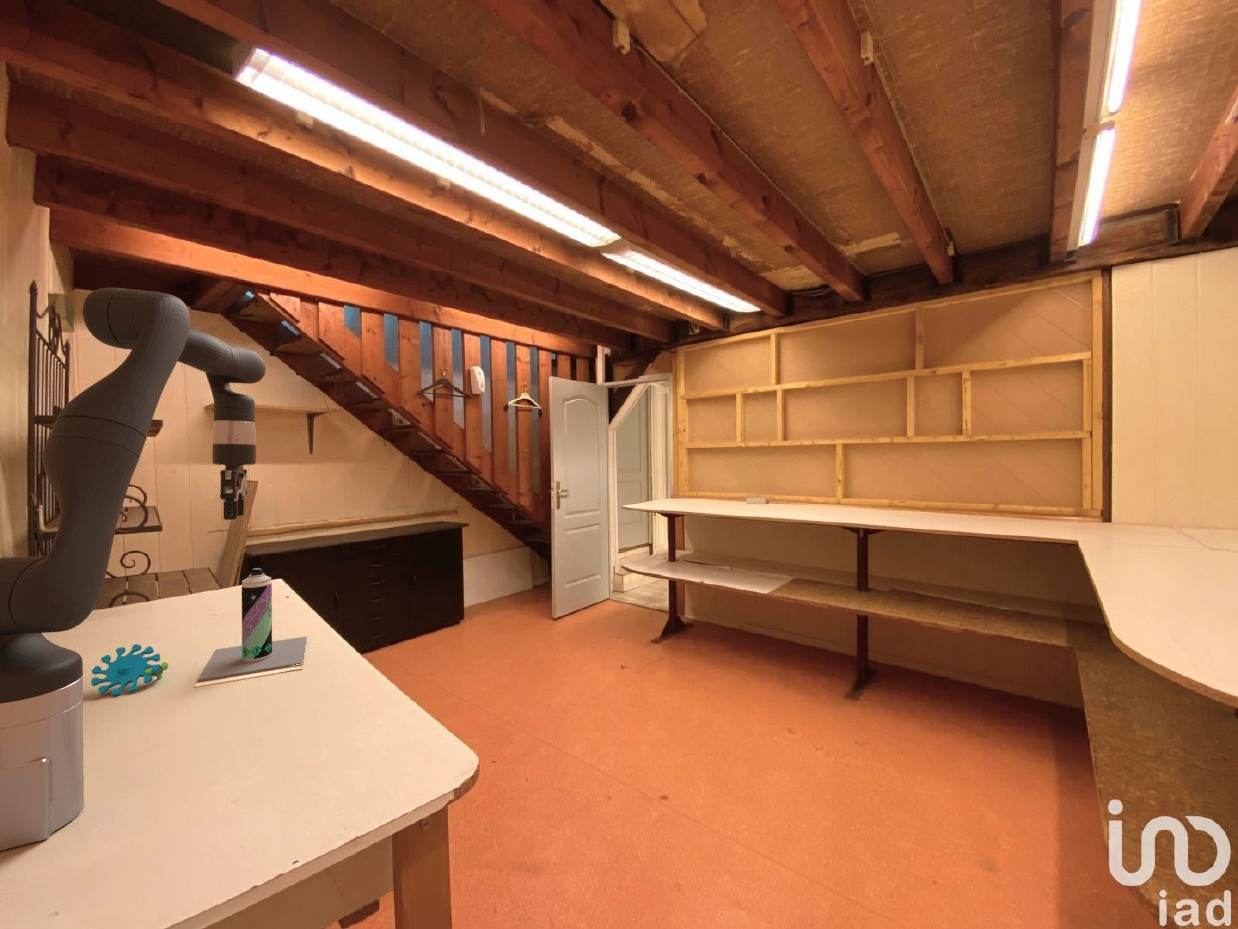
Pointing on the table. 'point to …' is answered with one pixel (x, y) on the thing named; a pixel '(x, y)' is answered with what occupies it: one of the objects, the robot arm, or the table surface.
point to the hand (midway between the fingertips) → (234, 517)
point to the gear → (128, 670)
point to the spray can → (256, 617)
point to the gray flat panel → (231, 662)
